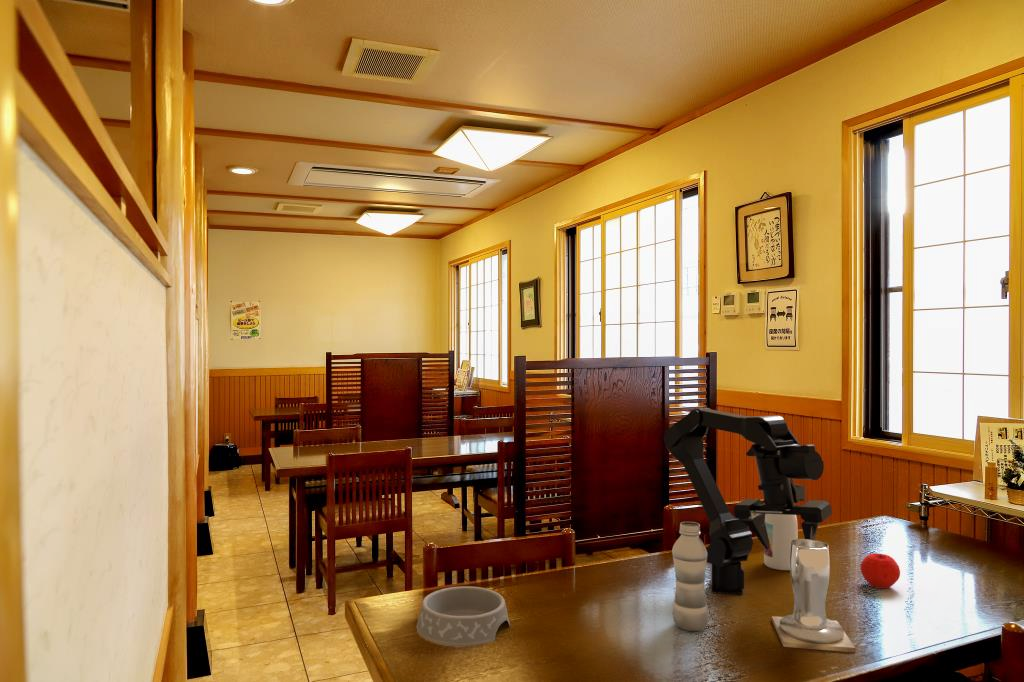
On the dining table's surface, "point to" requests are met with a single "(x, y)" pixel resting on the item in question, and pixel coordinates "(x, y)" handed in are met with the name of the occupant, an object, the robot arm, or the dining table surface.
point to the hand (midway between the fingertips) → (789, 550)
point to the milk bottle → (780, 540)
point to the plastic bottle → (690, 579)
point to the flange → (812, 632)
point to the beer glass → (809, 582)
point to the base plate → (791, 642)
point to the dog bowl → (461, 616)
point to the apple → (880, 570)
